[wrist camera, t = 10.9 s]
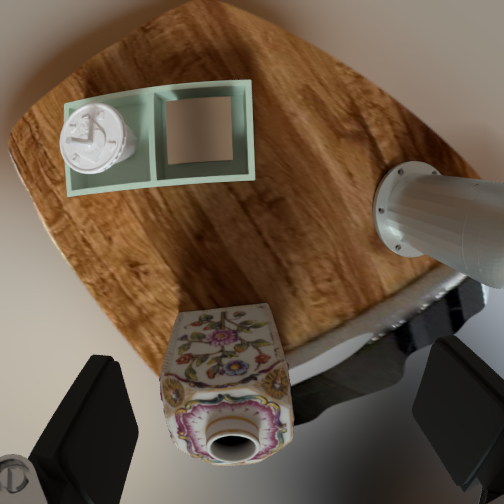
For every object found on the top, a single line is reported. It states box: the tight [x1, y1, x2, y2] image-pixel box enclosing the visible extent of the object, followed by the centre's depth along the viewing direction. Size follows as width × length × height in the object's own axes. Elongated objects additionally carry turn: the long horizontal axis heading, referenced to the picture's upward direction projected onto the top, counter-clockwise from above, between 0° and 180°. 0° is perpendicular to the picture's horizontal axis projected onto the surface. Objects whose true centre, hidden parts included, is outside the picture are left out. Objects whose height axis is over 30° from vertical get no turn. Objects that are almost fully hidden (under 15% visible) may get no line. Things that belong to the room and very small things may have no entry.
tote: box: [64, 80, 255, 197], centre depth 31 cm, size 20×10×5 cm, turn 92°
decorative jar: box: [159, 303, 294, 466], centre depth 32 cm, size 12×12×18 cm
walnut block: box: [166, 96, 233, 165], centre depth 30 cm, size 6×6×6 cm
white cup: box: [60, 102, 138, 174], centre depth 26 cm, size 6×6×14 cm
